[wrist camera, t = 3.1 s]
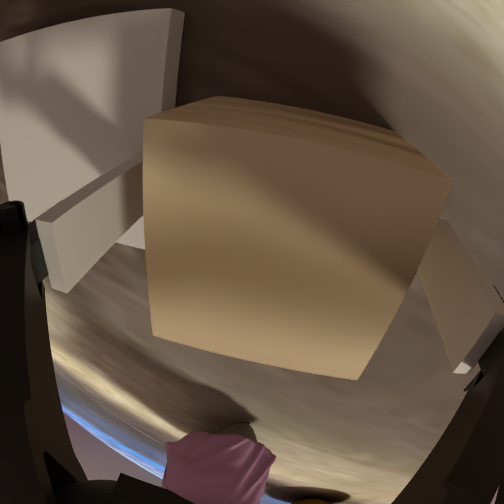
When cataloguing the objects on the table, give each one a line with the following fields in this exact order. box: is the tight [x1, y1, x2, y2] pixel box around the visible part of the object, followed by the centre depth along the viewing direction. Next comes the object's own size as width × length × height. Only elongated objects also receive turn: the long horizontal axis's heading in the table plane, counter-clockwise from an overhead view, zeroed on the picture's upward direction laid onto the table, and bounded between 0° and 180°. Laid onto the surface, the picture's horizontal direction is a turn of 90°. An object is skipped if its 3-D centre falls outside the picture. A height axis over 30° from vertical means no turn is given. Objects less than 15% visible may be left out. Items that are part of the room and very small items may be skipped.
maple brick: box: [143, 96, 453, 380], centre depth 12 cm, size 8×8×7 cm
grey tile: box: [0, 8, 185, 249], centre depth 14 cm, size 12×12×2 cm
